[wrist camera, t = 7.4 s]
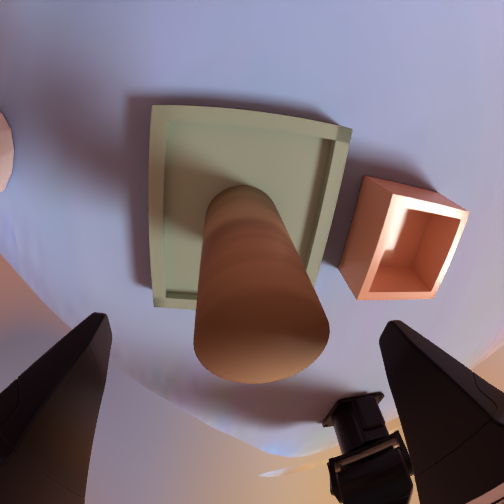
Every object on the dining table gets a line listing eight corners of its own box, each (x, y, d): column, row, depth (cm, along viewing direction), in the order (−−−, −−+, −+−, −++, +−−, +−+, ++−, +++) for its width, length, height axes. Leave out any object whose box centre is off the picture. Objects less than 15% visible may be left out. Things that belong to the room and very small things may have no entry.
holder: (410, 271, 20) (433, 298, 17) (337, 268, 19) (356, 300, 16) (438, 192, 17) (469, 212, 14) (363, 174, 16) (392, 194, 13)
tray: (300, 298, 20) (306, 313, 19) (157, 291, 19) (154, 306, 18) (340, 125, 15) (352, 129, 13) (158, 104, 13) (151, 105, 12)
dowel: (271, 254, 17) (309, 381, 9) (203, 249, 17) (194, 382, 9) (283, 189, 15) (347, 293, 7) (207, 182, 15) (193, 287, 7)
